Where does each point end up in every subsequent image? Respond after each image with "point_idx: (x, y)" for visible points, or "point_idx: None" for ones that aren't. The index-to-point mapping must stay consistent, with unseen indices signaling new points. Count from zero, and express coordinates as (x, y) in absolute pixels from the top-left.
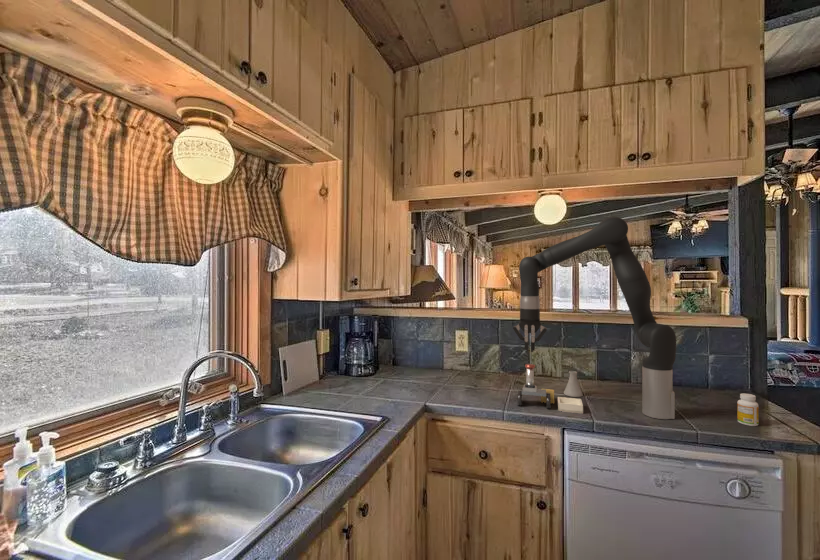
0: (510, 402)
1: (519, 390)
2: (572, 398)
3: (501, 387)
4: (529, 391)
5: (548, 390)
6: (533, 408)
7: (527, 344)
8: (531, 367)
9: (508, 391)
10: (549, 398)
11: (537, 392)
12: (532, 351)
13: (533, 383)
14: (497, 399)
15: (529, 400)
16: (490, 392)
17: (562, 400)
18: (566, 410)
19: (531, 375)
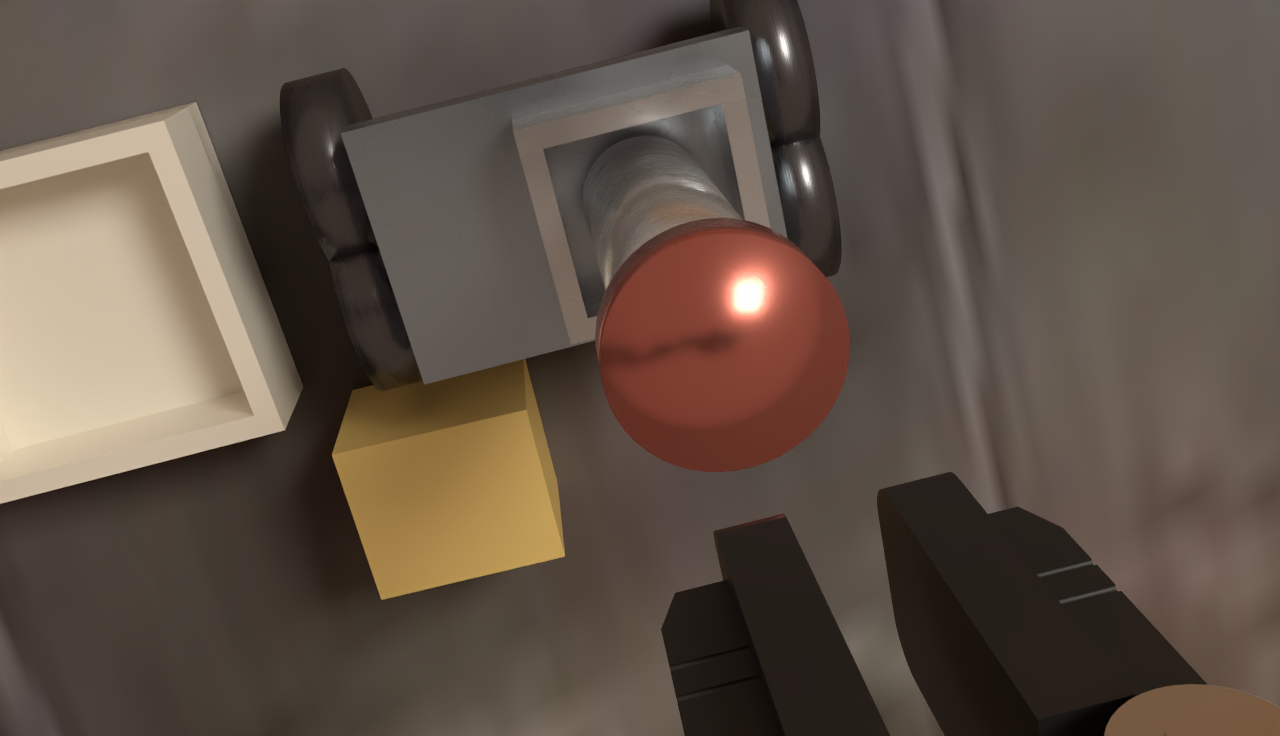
0: (890, 111)
1: (824, 229)
2: (74, 466)
3: None
4: (625, 90)
5: (444, 526)
6: (536, 27)
7: (1028, 635)
8: (654, 248)
9: None
10: (297, 125)
11: (497, 139)
12: (722, 532)
13: (592, 226)
14: (1083, 140)
15: None
16: (1225, 381)
17: (221, 410)
18: (82, 133)
19: (637, 220)
